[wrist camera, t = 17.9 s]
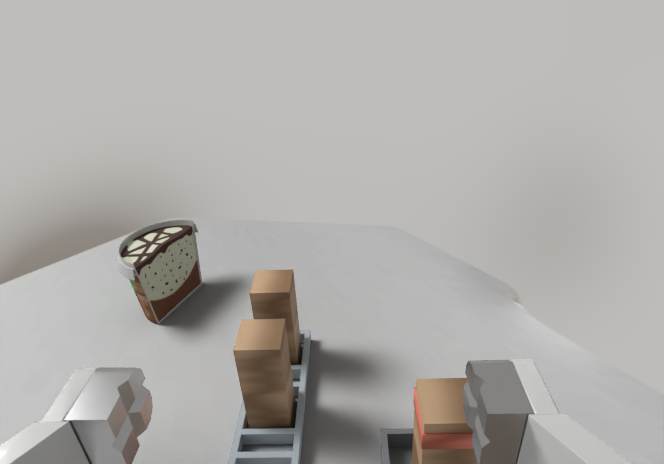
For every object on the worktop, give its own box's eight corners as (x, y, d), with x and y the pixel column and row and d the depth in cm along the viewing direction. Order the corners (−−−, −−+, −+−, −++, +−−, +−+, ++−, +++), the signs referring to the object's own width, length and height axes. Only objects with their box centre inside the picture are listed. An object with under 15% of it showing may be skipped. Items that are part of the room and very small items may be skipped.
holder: (217, 533, 37) (214, 523, 37) (260, 340, 57) (258, 331, 56) (294, 533, 37) (292, 522, 36) (310, 339, 56) (310, 330, 56)
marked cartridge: (416, 516, 37) (423, 425, 32) (409, 467, 41) (414, 378, 36) (469, 516, 37) (485, 424, 32) (458, 466, 41) (470, 377, 35)
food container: (174, 270, 71) (159, 212, 66) (208, 278, 69) (195, 218, 64) (113, 321, 61) (90, 257, 56) (150, 332, 59) (129, 266, 54)
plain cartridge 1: (262, 372, 52) (249, 293, 47) (267, 347, 56) (256, 270, 50) (298, 371, 52) (289, 292, 47) (301, 346, 56) (292, 269, 50)
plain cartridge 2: (250, 434, 45) (233, 350, 40) (257, 401, 49) (242, 319, 43) (291, 434, 45) (279, 349, 40) (295, 400, 49) (284, 318, 43)
